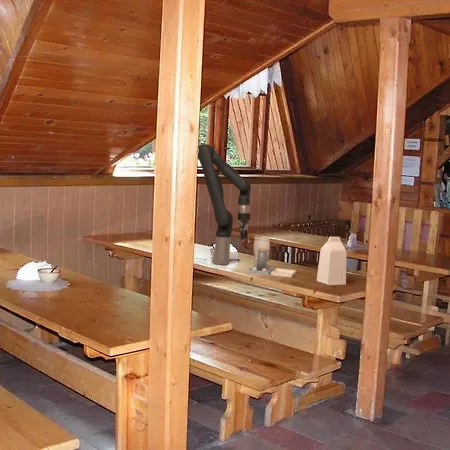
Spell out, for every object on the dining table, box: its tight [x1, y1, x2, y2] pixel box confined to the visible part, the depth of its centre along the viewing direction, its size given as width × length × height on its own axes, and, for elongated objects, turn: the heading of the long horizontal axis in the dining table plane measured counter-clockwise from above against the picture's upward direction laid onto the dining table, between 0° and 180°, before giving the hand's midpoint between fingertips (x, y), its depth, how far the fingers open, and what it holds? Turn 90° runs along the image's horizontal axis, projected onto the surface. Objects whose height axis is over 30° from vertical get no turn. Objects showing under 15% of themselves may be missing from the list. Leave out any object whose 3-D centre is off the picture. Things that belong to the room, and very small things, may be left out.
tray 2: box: [270, 267, 297, 278], centre depth 390 cm, size 12×15×2 cm
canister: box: [256, 249, 268, 271], centre depth 394 cm, size 6×6×13 cm
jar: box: [253, 235, 271, 261], centre depth 437 cm, size 11×10×15 cm
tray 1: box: [248, 265, 275, 276], centre depth 394 cm, size 12×15×2 cm
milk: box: [316, 236, 348, 286], centre depth 375 cm, size 12×12×26 cm
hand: (244, 238), depth 408 cm, fingers open, 8 cm apart
